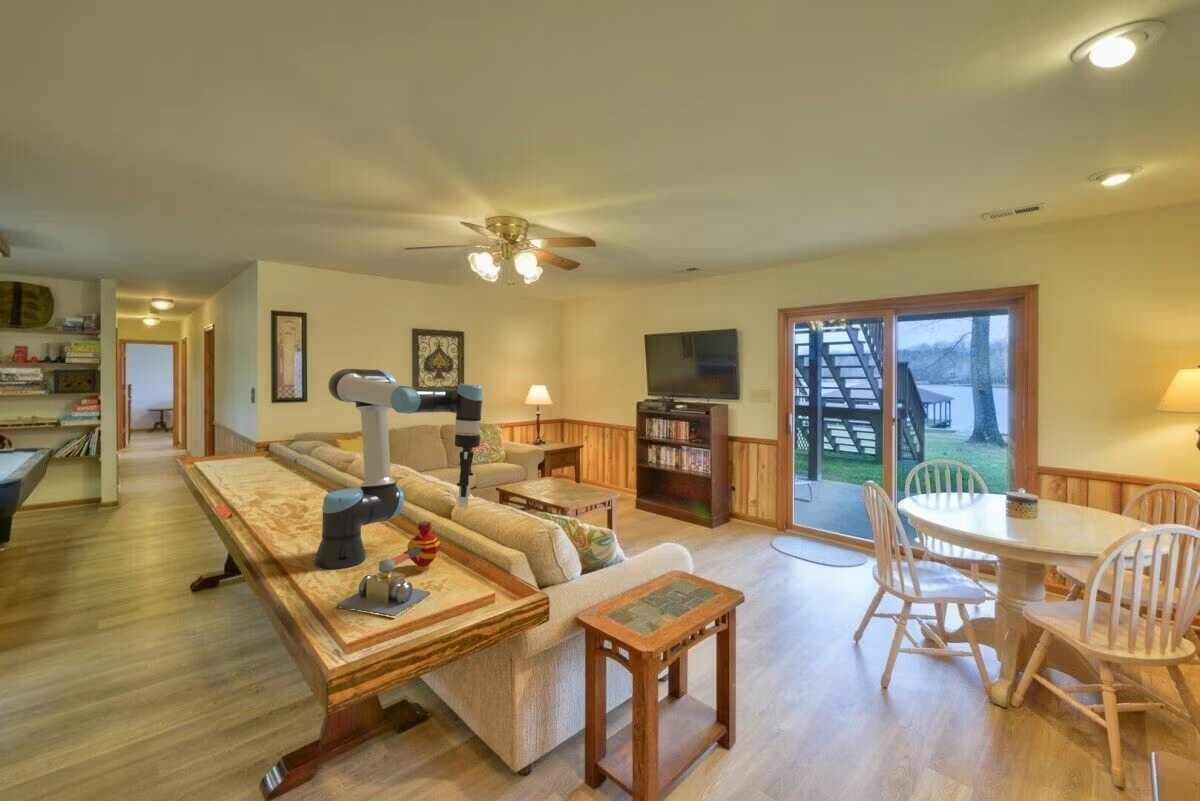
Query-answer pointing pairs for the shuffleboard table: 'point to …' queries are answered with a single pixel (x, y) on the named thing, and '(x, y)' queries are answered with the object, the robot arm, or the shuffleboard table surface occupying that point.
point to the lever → (398, 559)
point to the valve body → (386, 588)
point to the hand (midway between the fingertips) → (464, 501)
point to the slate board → (390, 609)
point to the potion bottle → (424, 547)
